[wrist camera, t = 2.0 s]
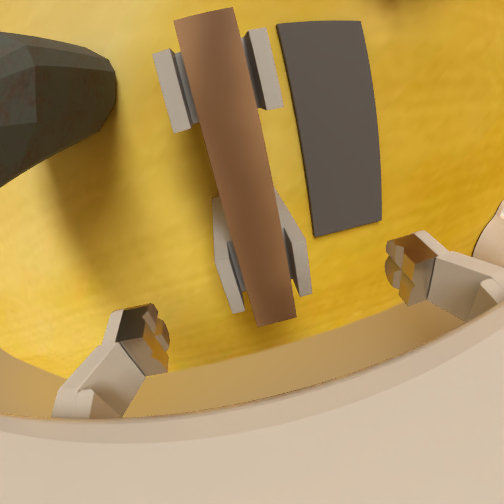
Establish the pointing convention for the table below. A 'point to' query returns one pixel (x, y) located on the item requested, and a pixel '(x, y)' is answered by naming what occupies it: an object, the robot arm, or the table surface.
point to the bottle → (48, 99)
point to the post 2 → (230, 265)
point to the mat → (335, 121)
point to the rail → (238, 157)
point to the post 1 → (180, 91)
